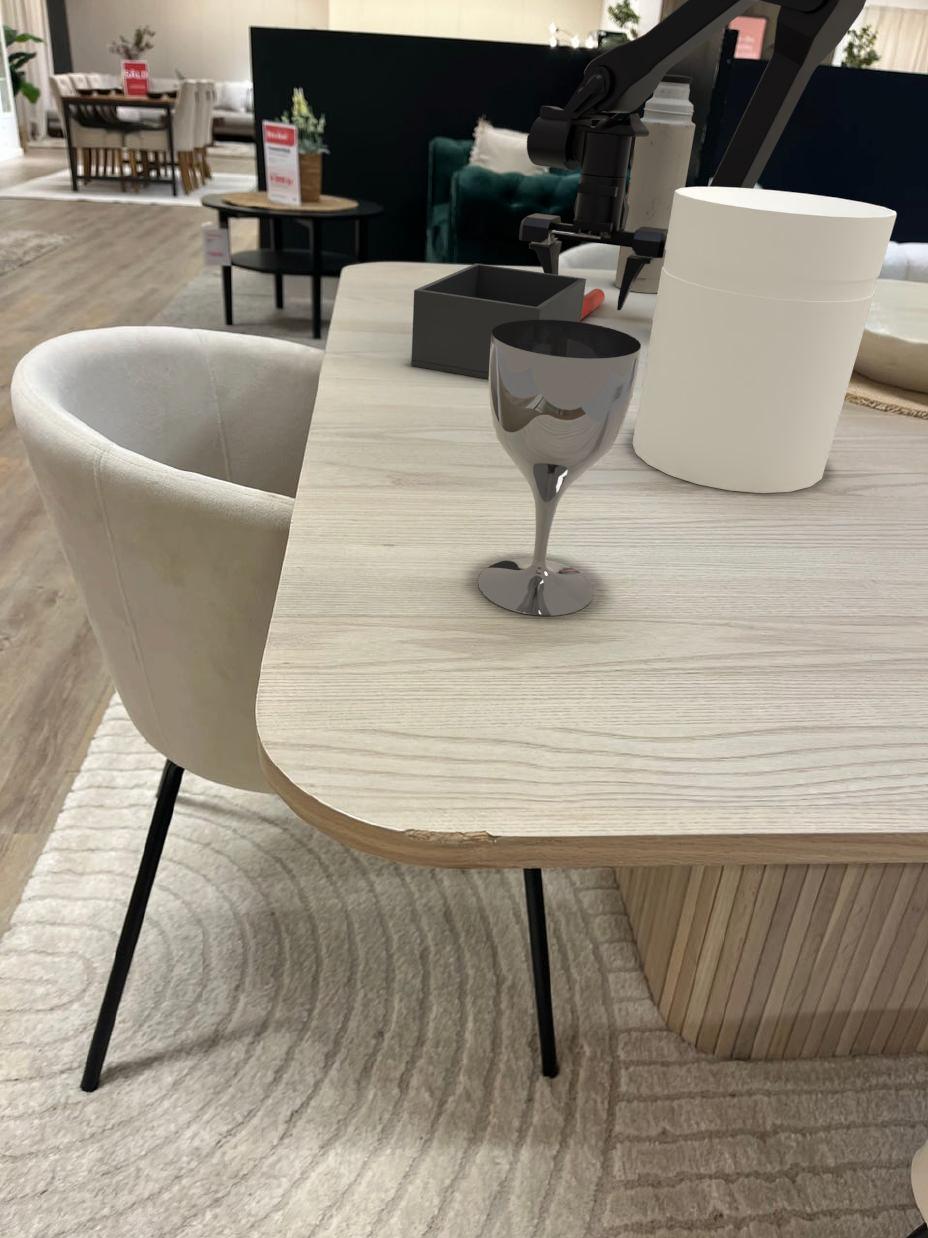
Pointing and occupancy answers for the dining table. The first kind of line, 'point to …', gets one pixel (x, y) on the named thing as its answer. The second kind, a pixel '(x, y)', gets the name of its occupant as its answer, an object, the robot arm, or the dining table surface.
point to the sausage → (592, 301)
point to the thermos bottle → (658, 170)
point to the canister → (756, 334)
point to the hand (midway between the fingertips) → (586, 304)
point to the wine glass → (554, 438)
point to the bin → (484, 313)
